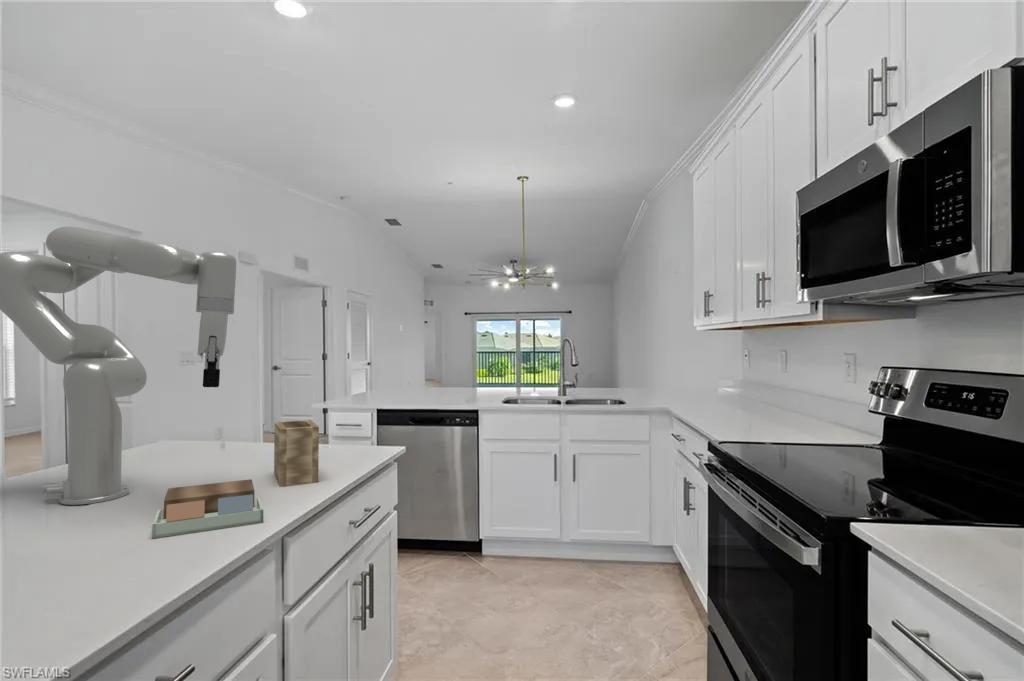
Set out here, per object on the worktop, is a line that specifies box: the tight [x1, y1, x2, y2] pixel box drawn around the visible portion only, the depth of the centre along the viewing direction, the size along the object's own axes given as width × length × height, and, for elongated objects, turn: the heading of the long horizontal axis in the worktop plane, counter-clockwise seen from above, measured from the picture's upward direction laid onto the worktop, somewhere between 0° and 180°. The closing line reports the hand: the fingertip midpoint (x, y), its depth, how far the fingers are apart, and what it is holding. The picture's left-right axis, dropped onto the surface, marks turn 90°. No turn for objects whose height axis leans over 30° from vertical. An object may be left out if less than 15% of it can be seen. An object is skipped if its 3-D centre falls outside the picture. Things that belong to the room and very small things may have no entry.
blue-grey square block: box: [218, 494, 253, 515], centre depth 103 cm, size 6×6×3 cm
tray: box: [151, 496, 264, 539], centre depth 102 cm, size 18×10×2 cm, turn 120°
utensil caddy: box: [273, 419, 320, 488], centre depth 136 cm, size 9×14×14 cm, turn 30°
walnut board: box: [163, 479, 255, 519], centre depth 111 cm, size 16×10×4 cm, turn 120°
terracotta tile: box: [166, 500, 205, 522], centre depth 99 cm, size 6×6×3 cm
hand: (210, 386), depth 119 cm, fingers closed
